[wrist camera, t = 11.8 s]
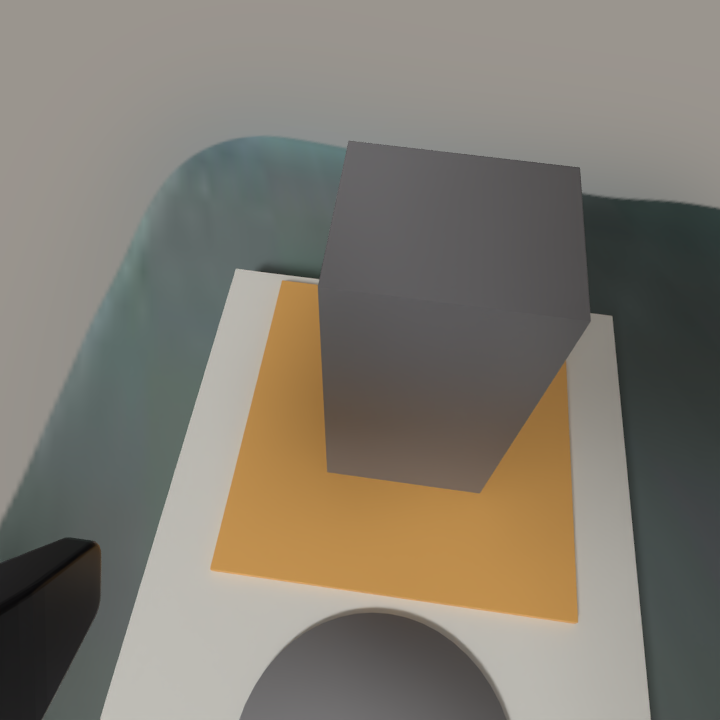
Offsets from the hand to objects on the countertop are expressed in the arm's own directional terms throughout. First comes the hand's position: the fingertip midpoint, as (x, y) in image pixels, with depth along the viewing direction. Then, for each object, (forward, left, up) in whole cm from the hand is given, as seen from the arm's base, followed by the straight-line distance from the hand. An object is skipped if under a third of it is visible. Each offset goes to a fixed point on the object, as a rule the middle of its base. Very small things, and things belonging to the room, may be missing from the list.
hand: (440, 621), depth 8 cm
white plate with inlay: (+2, +3, -12) cm, 13 cm away
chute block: (+5, +5, -11) cm, 13 cm away
